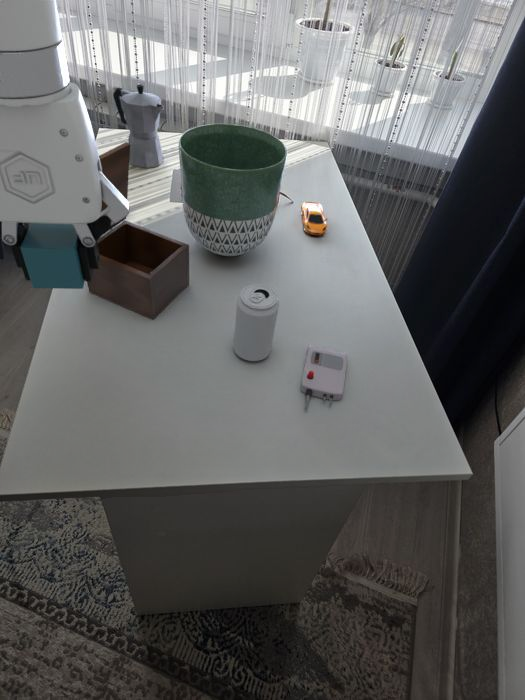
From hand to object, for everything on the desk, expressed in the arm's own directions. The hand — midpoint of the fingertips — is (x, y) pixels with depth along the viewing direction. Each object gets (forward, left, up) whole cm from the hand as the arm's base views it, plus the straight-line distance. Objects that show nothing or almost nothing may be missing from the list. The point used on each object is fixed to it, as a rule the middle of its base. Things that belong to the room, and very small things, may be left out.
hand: (61, 270), depth 46 cm
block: (0, 0, 0) cm, 0 cm away
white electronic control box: (+35, -5, -27) cm, 44 cm away
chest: (+15, +27, -27) cm, 41 cm away
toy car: (+59, +36, -27) cm, 74 cm away
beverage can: (+27, +5, -27) cm, 38 cm away
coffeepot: (+32, +77, -27) cm, 88 cm away
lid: (+12, +31, -10) cm, 35 cm away
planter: (+36, +34, -27) cm, 56 cm away
